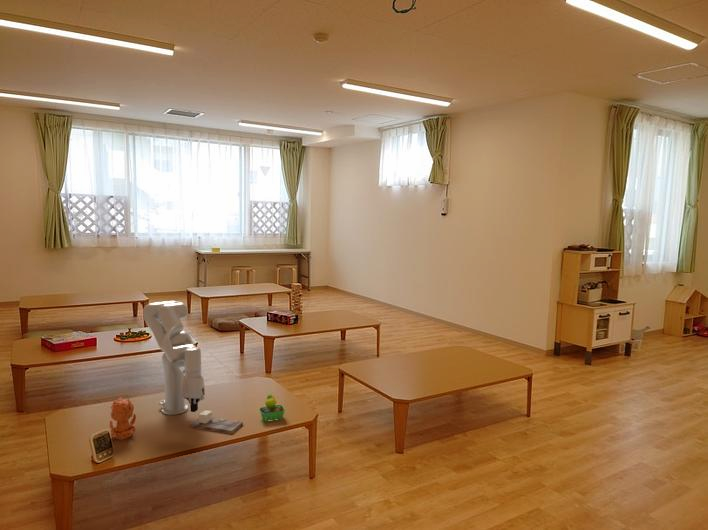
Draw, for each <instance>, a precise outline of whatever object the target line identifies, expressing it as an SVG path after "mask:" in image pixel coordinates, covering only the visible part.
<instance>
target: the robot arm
mask: <svg viewBox="0 0 708 530" xmlns="http://www.w3.org/2000/svg"><path fill="white" fill-rule="evenodd" d="M142 316H143V320H144V322H145V324H146V326H147V327H148V328H149V329H150V331H151V332H152V334H153V336H154V339H155V341H156V343H157V345H158V347H159V349H160V351H162V352H163V354H162V356H161V361H162V366H163V367H162V368H163V374H164V375H163V377H164V381H163V382H164V399H160V400H159V403H158V406H162V408H161V413H163V414H164V415H169V416H172V415H173V416H175V415H179V414H182V413H185V412H187V411H188V410H189V409H190V412H191V413H195V412H197V411H198V408H199V405H198V404H199V402H200V401H203V400H205V394H206V387H205V381H204V377H203V375H202V352H201V348H200V347H197V346H196V345H195V344H194V342H193V341H194V340H192V337H191V335H190V334H189V332H187V331H186V330H184V324H183V322H182V321H181V319H186V318H187V317H188V316H189V309H188V307H187V305H186V304H185V303H184V302H182V301H177V300H166V301H156V302H150V303H148V304H145V306H144V307H143V310H142ZM181 368H184V370H181ZM186 400H187V401H188V403H189V405H190V408H189V405H188V404H186Z"/></svg>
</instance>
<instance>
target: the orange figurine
mask: <svg viewBox="0 0 708 530" xmlns="http://www.w3.org/2000/svg"><path fill="white" fill-rule="evenodd" d="M112 402H113V403H111V406H110V408H111V411H110V417H111V418H110V419H112V420H113V421H116V426H114V425H113V421H112V420H110V421H109V428H110V436H111V437H110V438H112V439H116V440H121V441H122V440H126V439H128V438H130V437H132V436H133V435H132V434H134V433H135V432H136V426H135V425H134V424H135V423H136V419H137V416H136V415H137V414H136V413H134V409H135V407H134V404H133V403H132V402H131V400H130V399H129V398H127V399H126V398H123V397H121V396H118V399H116V400H113V401H112ZM131 417H132V419H131ZM130 419H131V421H130V422H129V420H130Z"/></svg>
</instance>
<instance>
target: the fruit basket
mask: <svg viewBox="0 0 708 530" xmlns="http://www.w3.org/2000/svg"><path fill="white" fill-rule="evenodd" d="M258 409H259V412H260V414H261V418H263V419H262V421H263V420H264V421H268V420H275V419H281V418H282V419H283V417H284V414H285V411H286V410H285V408H284V406H283V405H282V404H277V400H276V397H275V396H274V395H272V394H268V395H267V397H266V400H265V406H263V407H259V408H258ZM264 421H263V422H264ZM268 422H269V421H268Z"/></svg>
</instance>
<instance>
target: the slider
mask: <svg viewBox="0 0 708 530" xmlns="http://www.w3.org/2000/svg"><path fill="white" fill-rule="evenodd" d="M212 417H213V411H212V410H206V409H205V410H203V411H201V412H200V413H199V414H198V419H199V423H208V422H209V421H210V420H212Z"/></svg>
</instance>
